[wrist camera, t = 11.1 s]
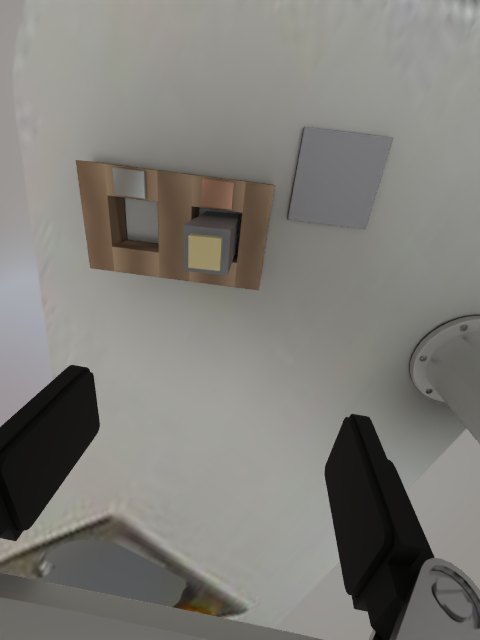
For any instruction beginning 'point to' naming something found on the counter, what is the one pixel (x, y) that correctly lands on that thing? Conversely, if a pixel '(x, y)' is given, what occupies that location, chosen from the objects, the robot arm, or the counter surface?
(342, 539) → the robot arm
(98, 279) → the counter surface
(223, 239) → the plug
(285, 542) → the counter surface
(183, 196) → the socket board
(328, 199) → the mat
